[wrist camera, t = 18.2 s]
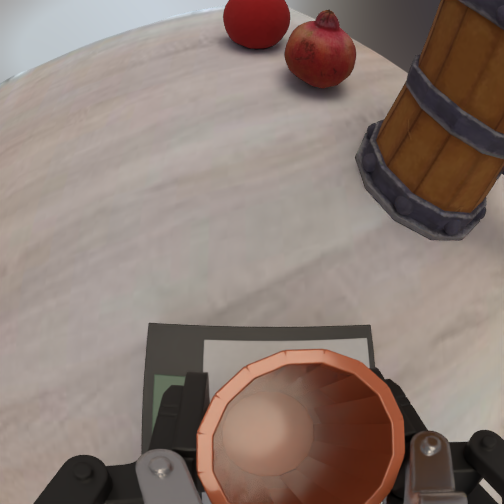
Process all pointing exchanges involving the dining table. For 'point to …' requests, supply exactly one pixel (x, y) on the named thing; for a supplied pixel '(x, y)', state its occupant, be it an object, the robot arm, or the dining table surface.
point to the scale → (231, 356)
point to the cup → (301, 433)
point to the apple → (256, 22)
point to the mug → (443, 126)
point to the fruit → (320, 52)
